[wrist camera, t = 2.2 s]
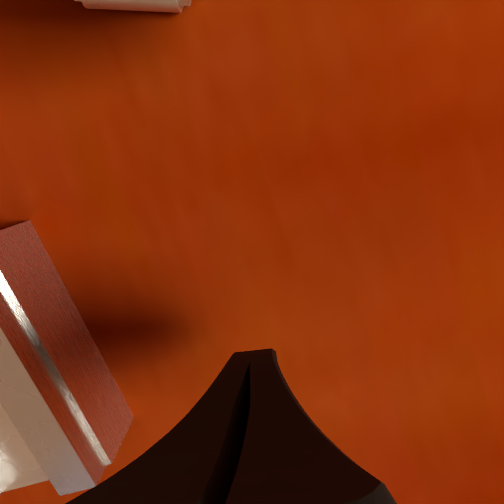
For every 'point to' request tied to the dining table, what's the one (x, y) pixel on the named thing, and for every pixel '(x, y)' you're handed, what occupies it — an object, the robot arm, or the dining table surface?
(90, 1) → the pneumatic valve
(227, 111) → the dining table surface
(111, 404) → the block
